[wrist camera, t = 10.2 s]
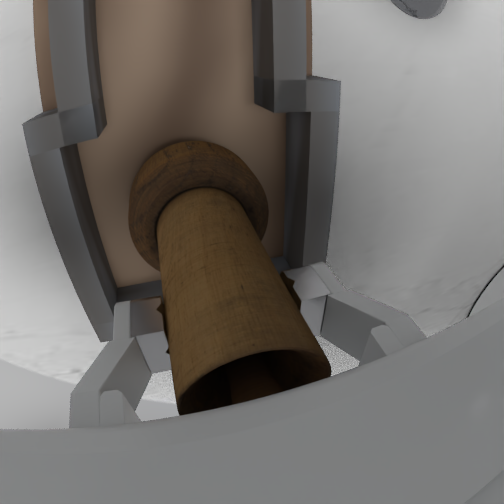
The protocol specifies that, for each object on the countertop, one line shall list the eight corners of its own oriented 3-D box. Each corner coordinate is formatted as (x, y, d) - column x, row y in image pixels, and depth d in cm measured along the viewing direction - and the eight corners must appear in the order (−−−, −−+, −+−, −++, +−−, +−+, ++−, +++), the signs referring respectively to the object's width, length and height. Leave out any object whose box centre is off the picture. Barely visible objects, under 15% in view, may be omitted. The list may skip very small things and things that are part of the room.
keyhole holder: (305, -52, 11) (337, -68, 8) (299, 265, 23) (320, 296, 20) (36, -27, 8) (12, -42, 5) (103, 303, 20) (100, 342, 17)
